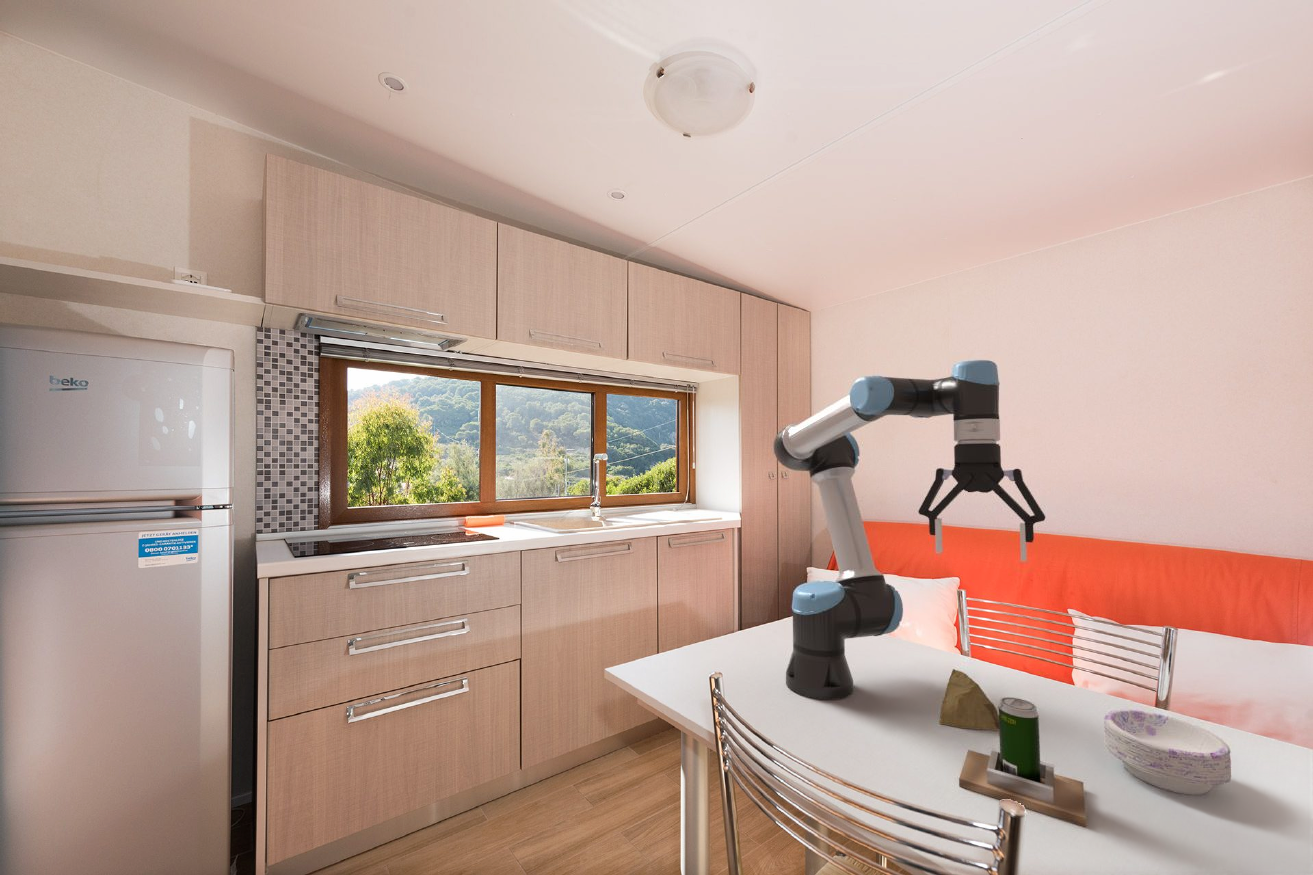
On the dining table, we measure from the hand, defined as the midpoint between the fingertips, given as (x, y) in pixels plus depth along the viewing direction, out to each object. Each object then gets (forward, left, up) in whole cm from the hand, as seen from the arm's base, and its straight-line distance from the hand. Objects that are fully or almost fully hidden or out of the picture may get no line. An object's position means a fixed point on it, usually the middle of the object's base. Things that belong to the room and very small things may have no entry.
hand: (979, 556), depth 100 cm
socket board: (+6, -11, -35) cm, 37 cm away
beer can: (+6, -11, -34) cm, 36 cm away
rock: (-3, +8, -35) cm, 36 cm away
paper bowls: (+25, +7, -35) cm, 44 cm away
